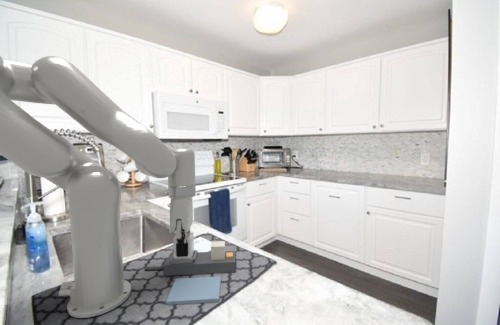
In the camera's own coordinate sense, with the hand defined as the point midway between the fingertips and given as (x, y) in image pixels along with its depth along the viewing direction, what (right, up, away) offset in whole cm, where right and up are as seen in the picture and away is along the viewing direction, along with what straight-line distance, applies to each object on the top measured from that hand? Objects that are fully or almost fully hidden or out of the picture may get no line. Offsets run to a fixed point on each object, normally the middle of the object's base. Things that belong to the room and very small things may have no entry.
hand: (184, 251), depth 67 cm
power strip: (+2, -5, +1) cm, 5 cm away
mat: (+6, -6, -10) cm, 13 cm away
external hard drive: (+2, -5, +14) cm, 15 cm away
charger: (0, -2, 0) cm, 2 cm away
